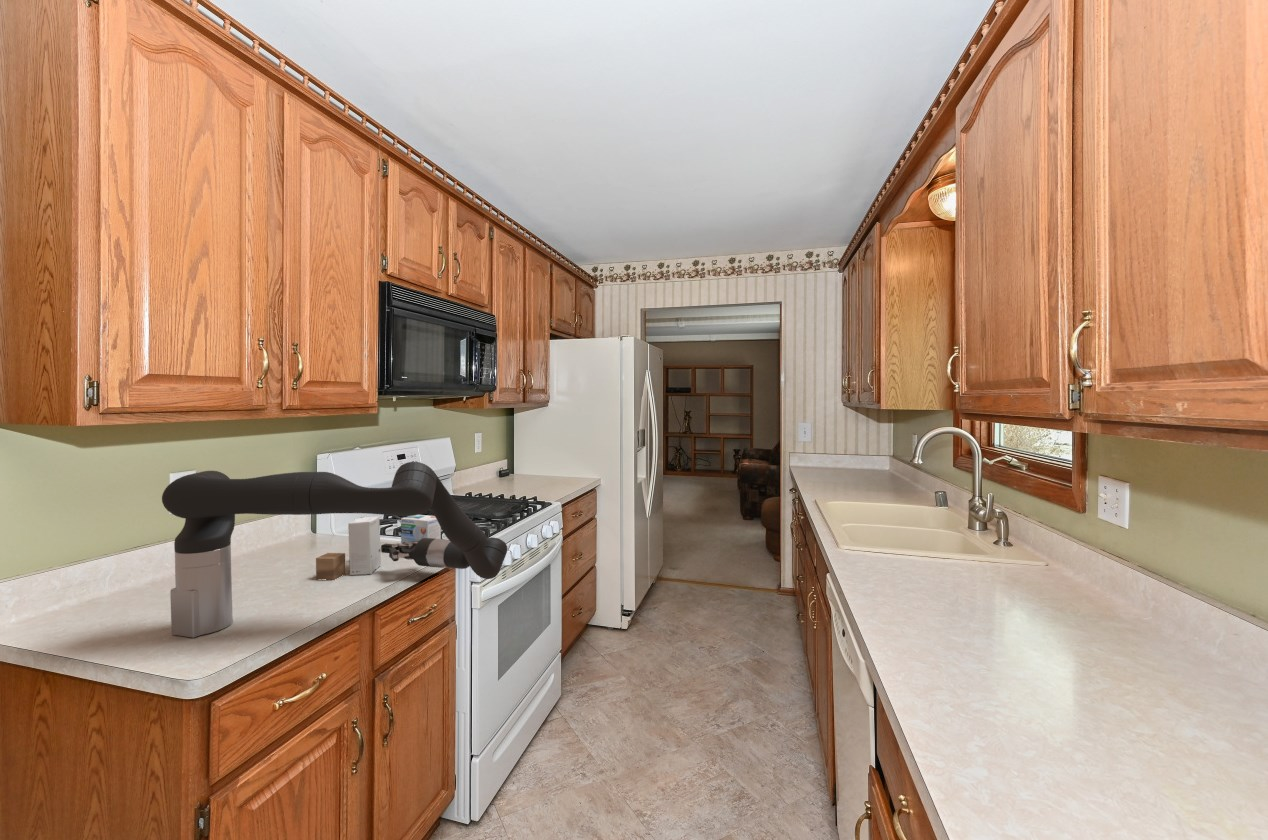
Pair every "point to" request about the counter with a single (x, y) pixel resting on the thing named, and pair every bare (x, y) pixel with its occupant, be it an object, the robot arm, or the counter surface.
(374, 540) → the skincare box
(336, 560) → the walnut block
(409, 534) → the light bulb box
